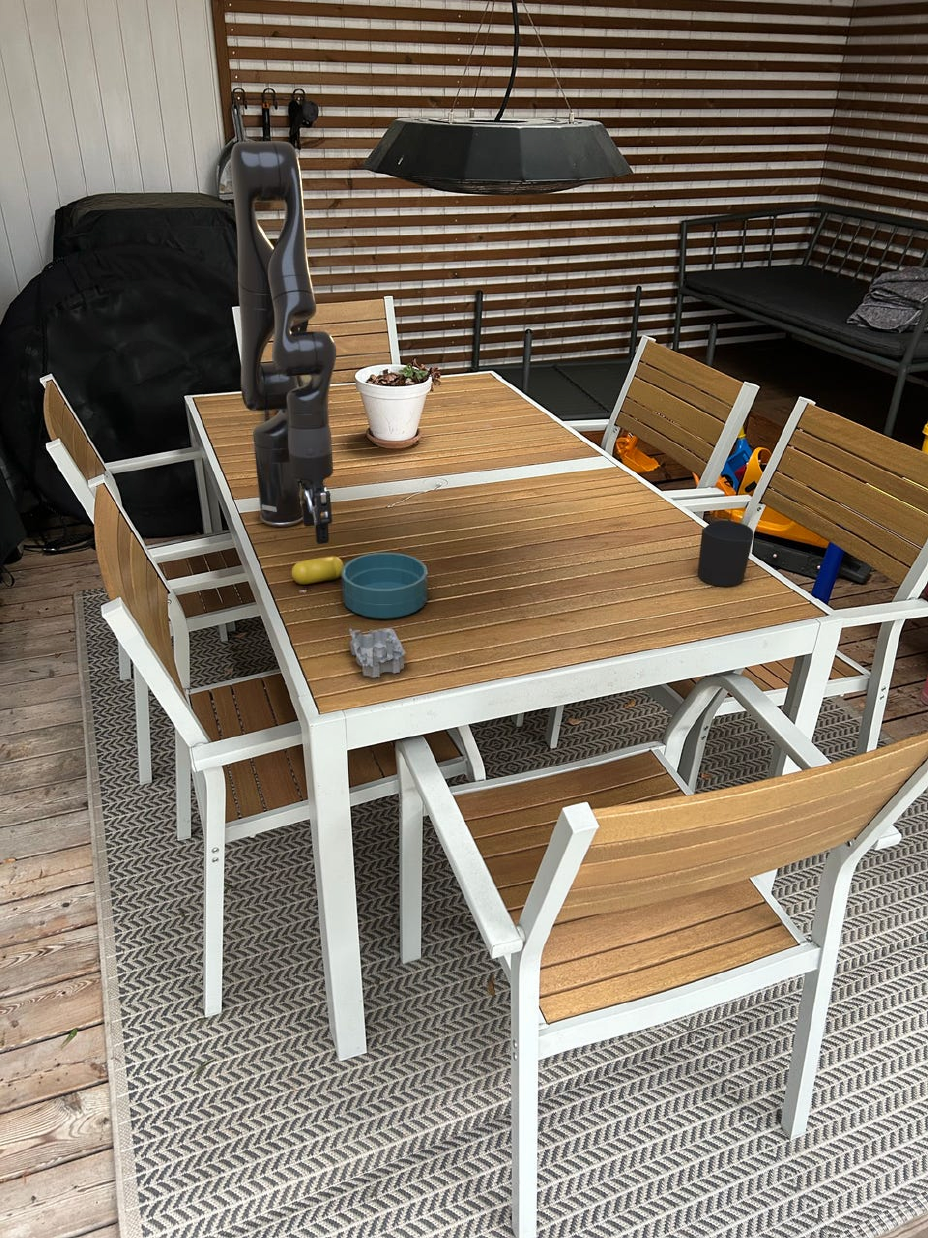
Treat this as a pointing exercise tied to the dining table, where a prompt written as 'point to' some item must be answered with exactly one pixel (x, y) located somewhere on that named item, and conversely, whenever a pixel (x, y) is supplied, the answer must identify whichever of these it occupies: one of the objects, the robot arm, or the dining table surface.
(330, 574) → the squash
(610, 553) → the dining table surface
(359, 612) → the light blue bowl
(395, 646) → the egg carton
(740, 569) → the pen holder
